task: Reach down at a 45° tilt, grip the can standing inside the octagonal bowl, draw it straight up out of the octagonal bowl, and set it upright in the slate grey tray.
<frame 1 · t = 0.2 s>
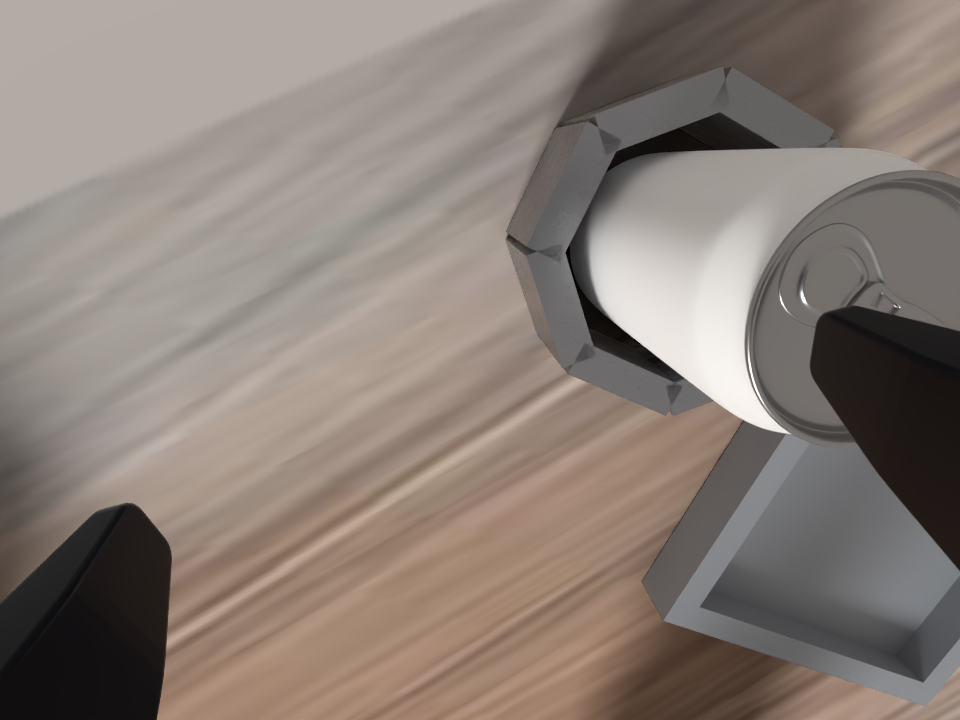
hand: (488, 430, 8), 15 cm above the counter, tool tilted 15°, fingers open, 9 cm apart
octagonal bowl: (648, 241, 23), on the counter
can: (645, 240, 23), resting in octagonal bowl
tray: (864, 498, 28), on the counter
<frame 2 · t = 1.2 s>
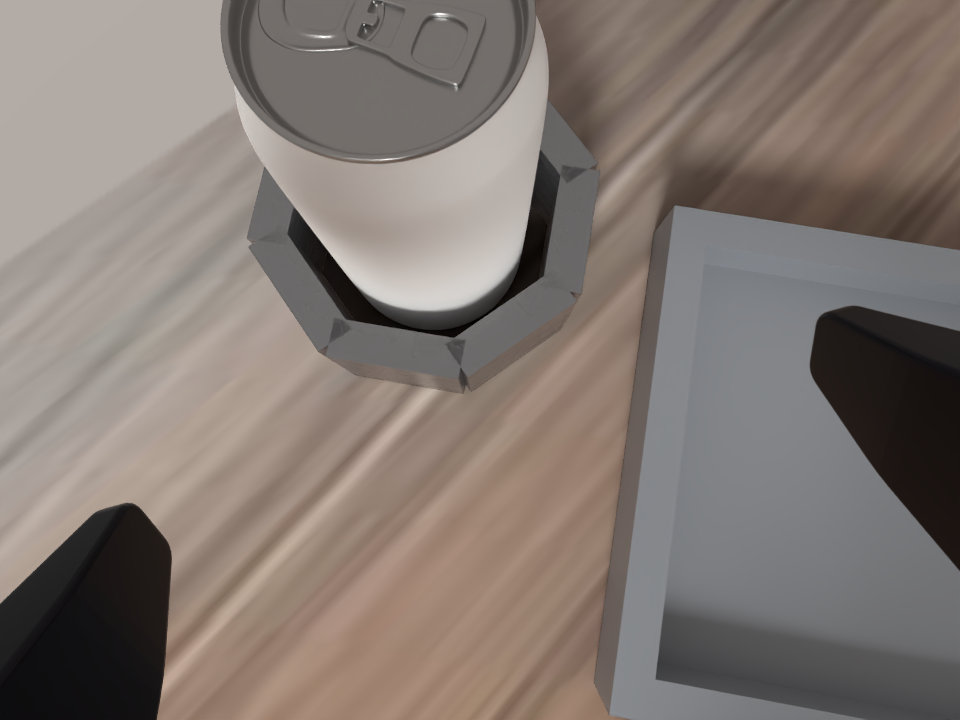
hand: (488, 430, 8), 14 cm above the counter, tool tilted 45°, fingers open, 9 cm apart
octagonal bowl: (435, 249, 22), on the counter
can: (436, 251, 22), resting in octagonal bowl
tray: (853, 484, 21), on the counter
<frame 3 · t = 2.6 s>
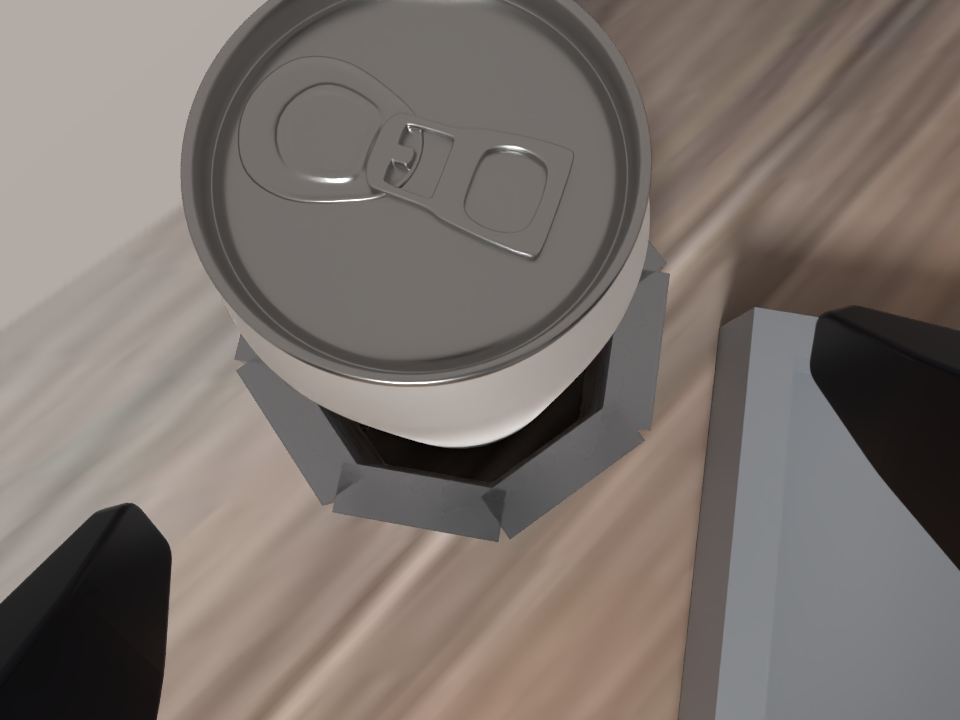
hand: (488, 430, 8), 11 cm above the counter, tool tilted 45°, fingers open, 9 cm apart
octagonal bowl: (461, 347, 19), on the counter
can: (461, 348, 19), resting in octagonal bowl
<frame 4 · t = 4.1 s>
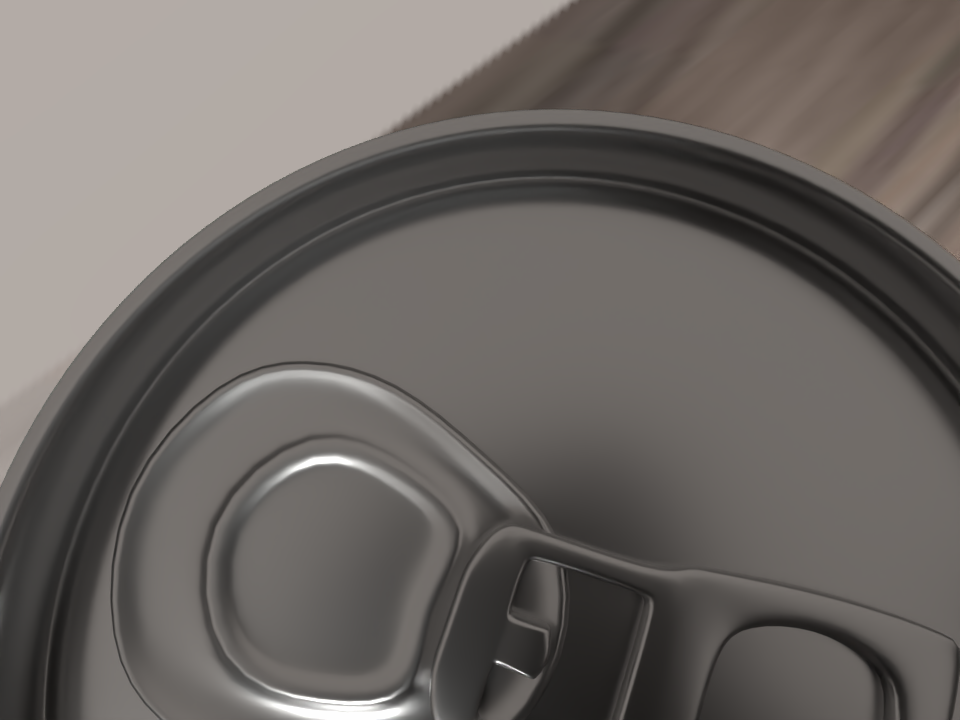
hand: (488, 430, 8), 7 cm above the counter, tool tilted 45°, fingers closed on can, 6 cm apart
can: (501, 499, 15), resting in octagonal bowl, touching gripper
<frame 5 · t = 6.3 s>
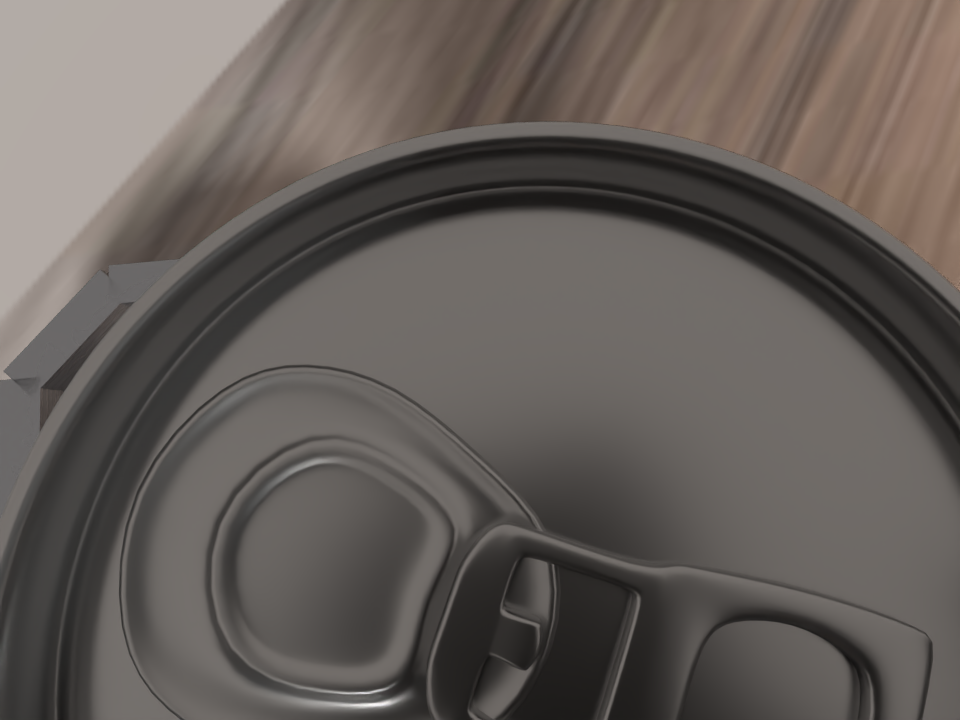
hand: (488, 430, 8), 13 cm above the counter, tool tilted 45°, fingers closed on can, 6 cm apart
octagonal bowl: (235, 435, 21), on the counter
can: (498, 493, 15), point 6 cm above the counter, touching gripper
when the fingers open (9 cm above the counter, at t = 8.4 s): can stays where it is, resting on tray.
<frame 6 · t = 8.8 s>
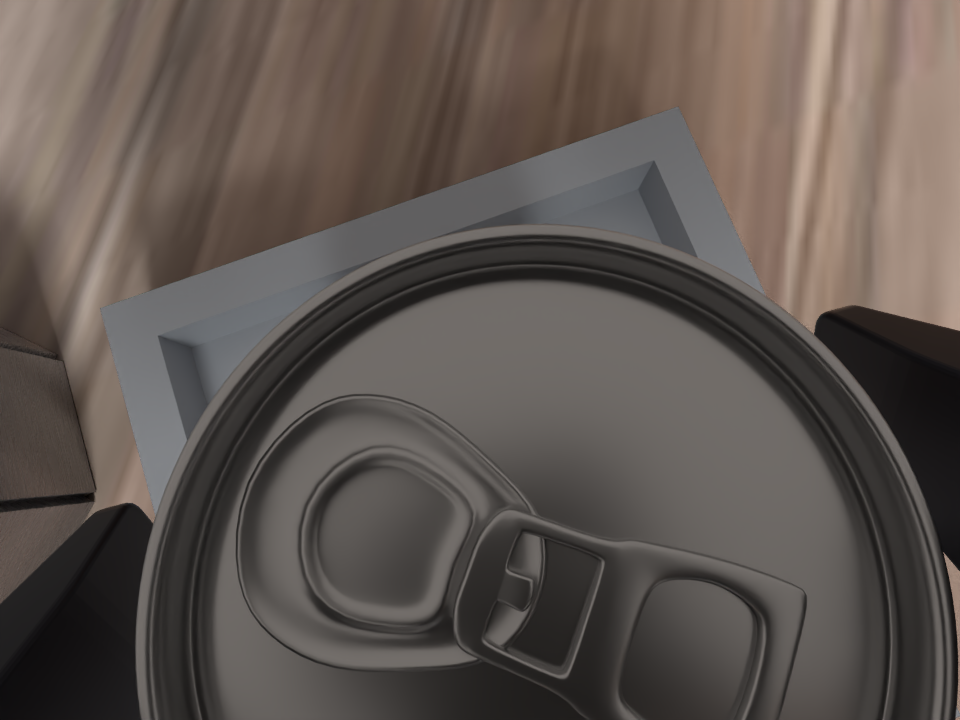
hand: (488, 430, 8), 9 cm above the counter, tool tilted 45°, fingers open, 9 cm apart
can: (499, 495, 16), point 1 cm above the counter, touching tray
tray: (500, 493, 17), on the counter
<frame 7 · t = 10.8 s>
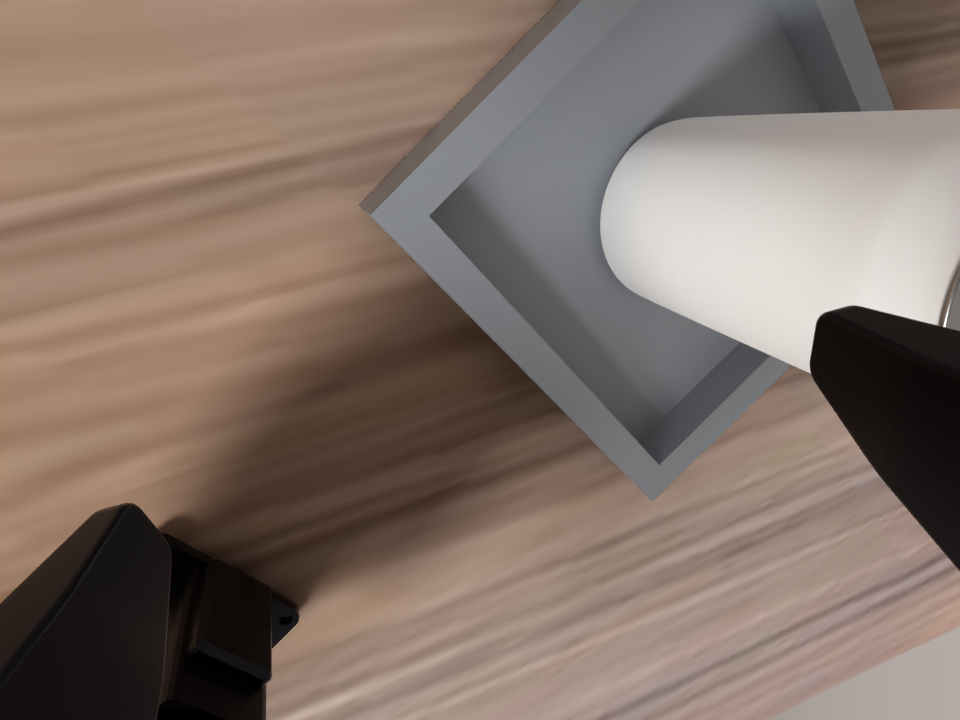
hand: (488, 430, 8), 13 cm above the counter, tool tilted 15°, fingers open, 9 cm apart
can: (669, 211, 22), point 1 cm above the counter, touching tray
tray: (660, 210, 22), on the counter
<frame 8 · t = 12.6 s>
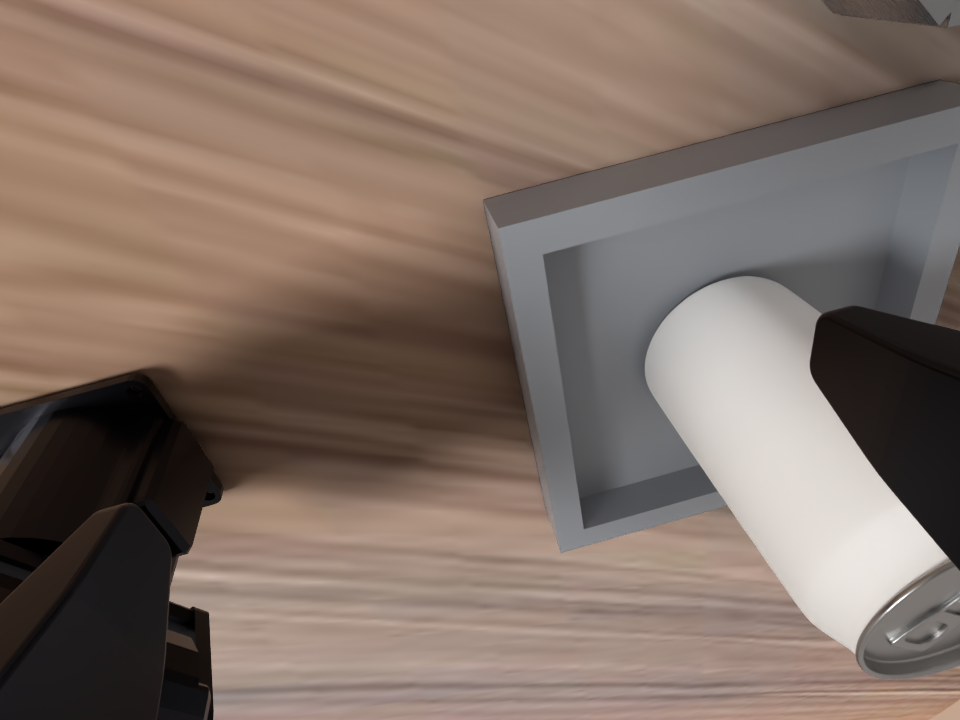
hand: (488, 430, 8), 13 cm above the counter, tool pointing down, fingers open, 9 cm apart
can: (714, 341, 24), point 1 cm above the counter, touching tray
tray: (707, 334, 24), on the counter
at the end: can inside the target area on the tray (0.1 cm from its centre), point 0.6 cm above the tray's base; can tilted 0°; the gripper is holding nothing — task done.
